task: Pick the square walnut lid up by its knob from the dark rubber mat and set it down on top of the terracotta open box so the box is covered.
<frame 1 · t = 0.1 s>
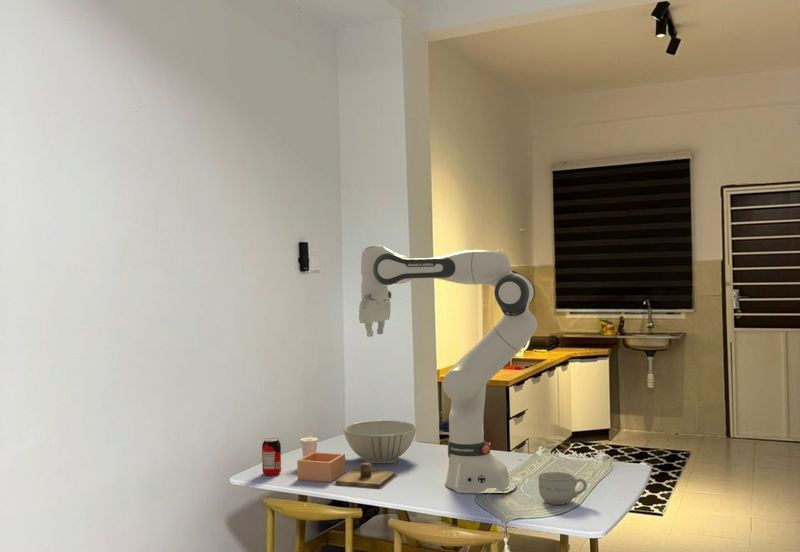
hand: (375, 335, 239), 48 cm above the table, fingers open, 8 cm apart
decorative bowl: (380, 461, 262), on the table
terracotta open box: (321, 478, 240), on the table
rubber mat: (366, 481, 235), on the table
beverage can: (271, 474, 246), on the table
walnut lid: (366, 479, 235), point 1 cm above the table, touching rubber mat
teacup: (562, 503, 209), on the table
smoothie: (309, 466, 256), on the table
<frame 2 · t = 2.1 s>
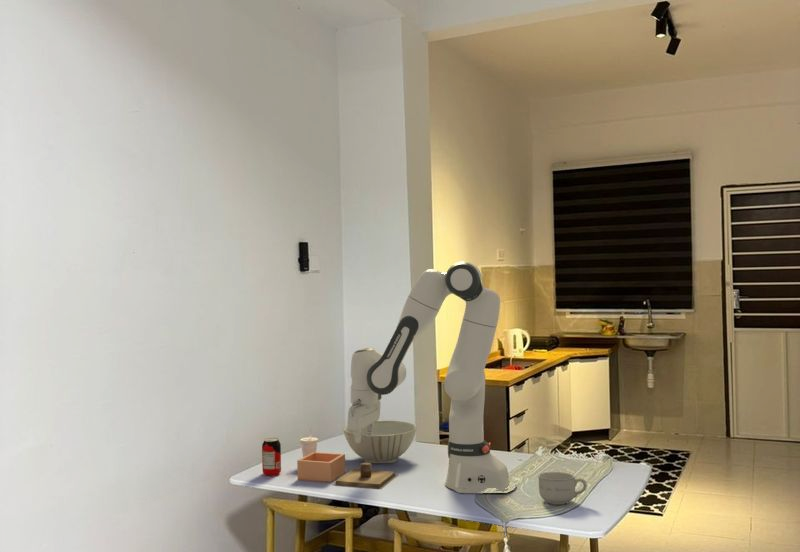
hand: (363, 439, 235), 14 cm above the table, fingers open, 8 cm apart
nothing on the table moved.
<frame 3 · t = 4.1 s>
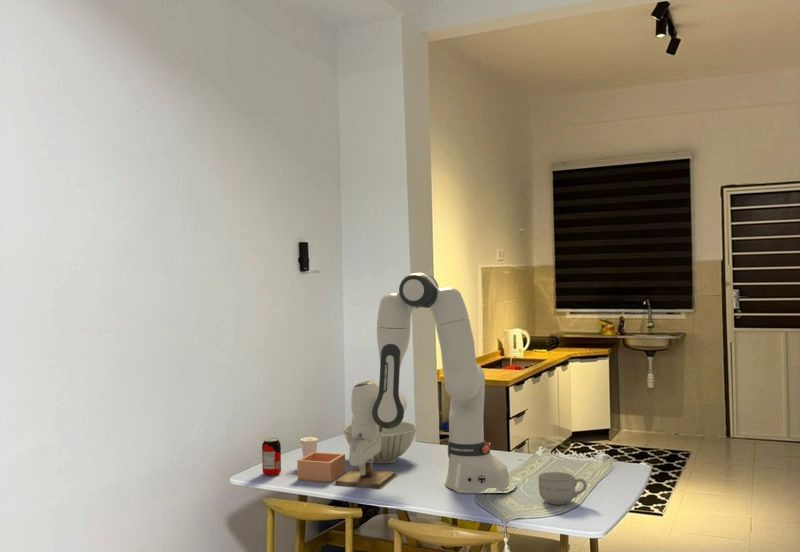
hand: (366, 472, 235), 3 cm above the table, fingers closed on walnut lid, 4 cm apart
walnut lid: (366, 479, 235), point 1 cm above the table, touching gripper, rubber mat
everything else where it was.
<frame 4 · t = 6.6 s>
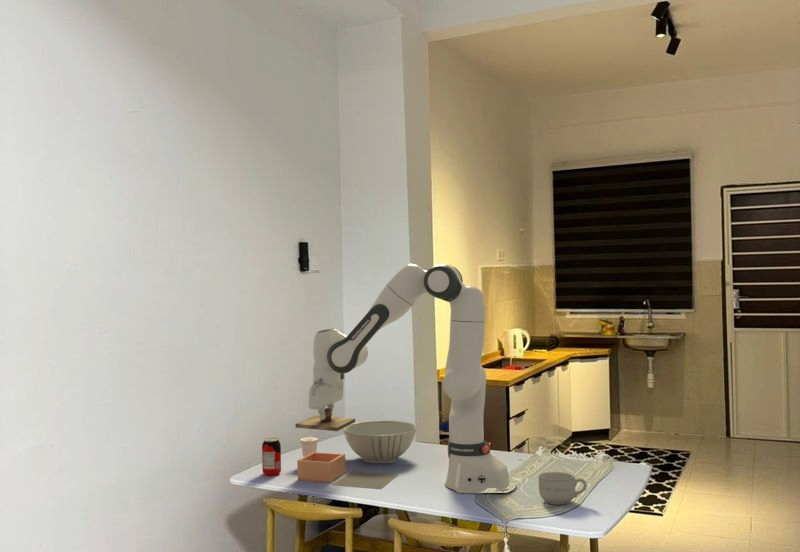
hand: (326, 418, 239), 20 cm above the table, fingers closed on walnut lid, 4 cm apart
walnut lid: (325, 424, 239), point 18 cm above the table, touching gripper
everything else where it was.
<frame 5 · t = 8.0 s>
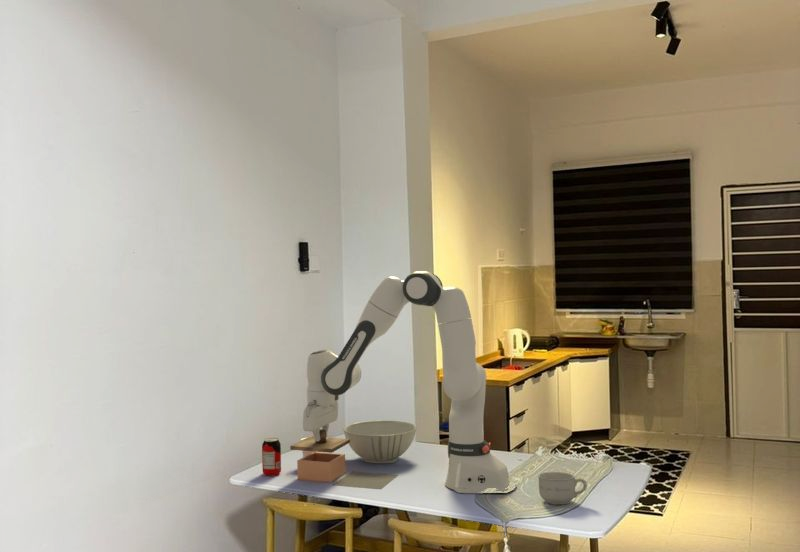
hand: (320, 439, 240), 13 cm above the table, fingers closed on walnut lid, 4 cm apart
walnut lid: (320, 446, 240), point 11 cm above the table, touching gripper
everything else where it was.
when the fingers open (11 cm above the table, at t = 9.1 s): walnut lid drops 1 cm, resting on terracotta open box.
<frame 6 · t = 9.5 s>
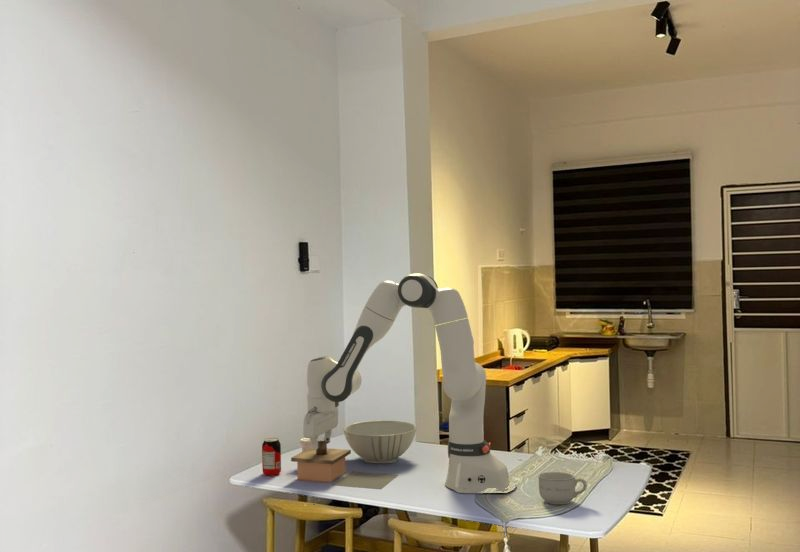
hand: (321, 446, 240), 11 cm above the table, fingers open, 7 cm apart
walnut lid: (321, 457, 240), point 7 cm above the table, touching terracotta open box
everything else where it was.
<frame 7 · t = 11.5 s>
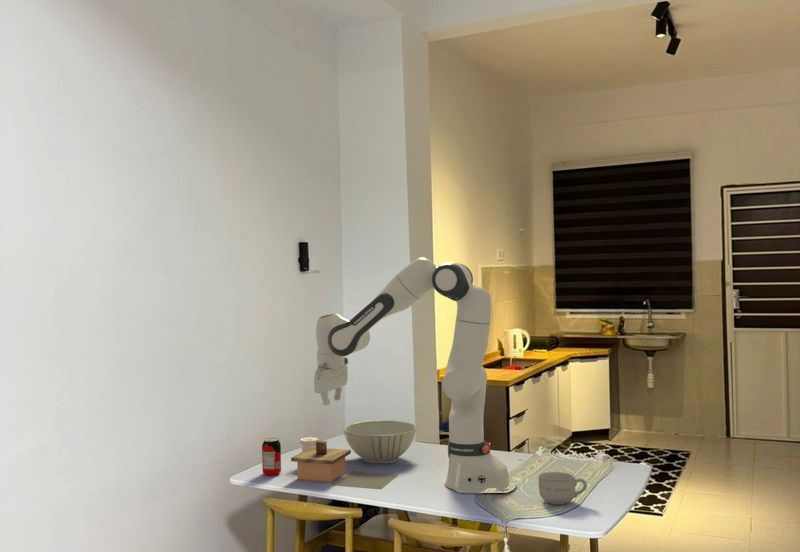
hand: (332, 402, 242), 25 cm above the table, fingers open, 8 cm apart
nothing on the table moved.
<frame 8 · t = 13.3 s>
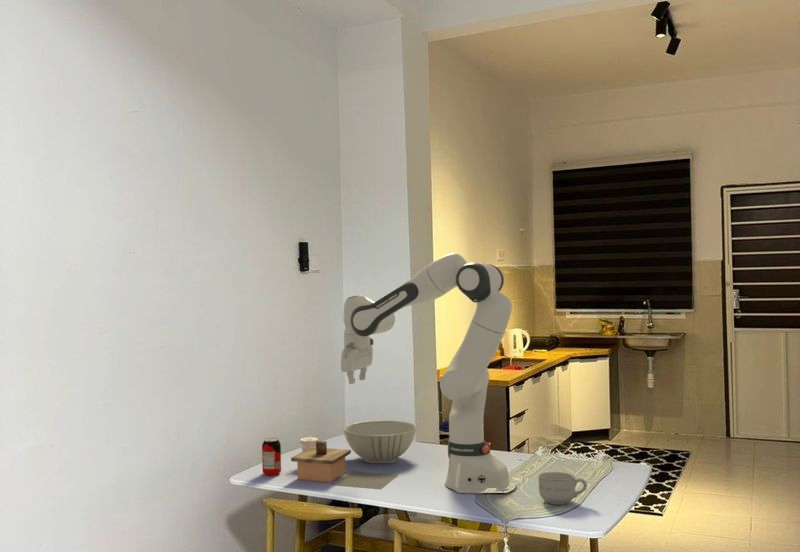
hand: (357, 381, 247), 31 cm above the table, fingers open, 8 cm apart
nothing on the table moved.
at the end: walnut lid 0.0 cm off-centre on the terracotta open box, point 7.0 cm above the terracotta open box's base; walnut lid tilted 0°; the gripper is holding nothing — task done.
